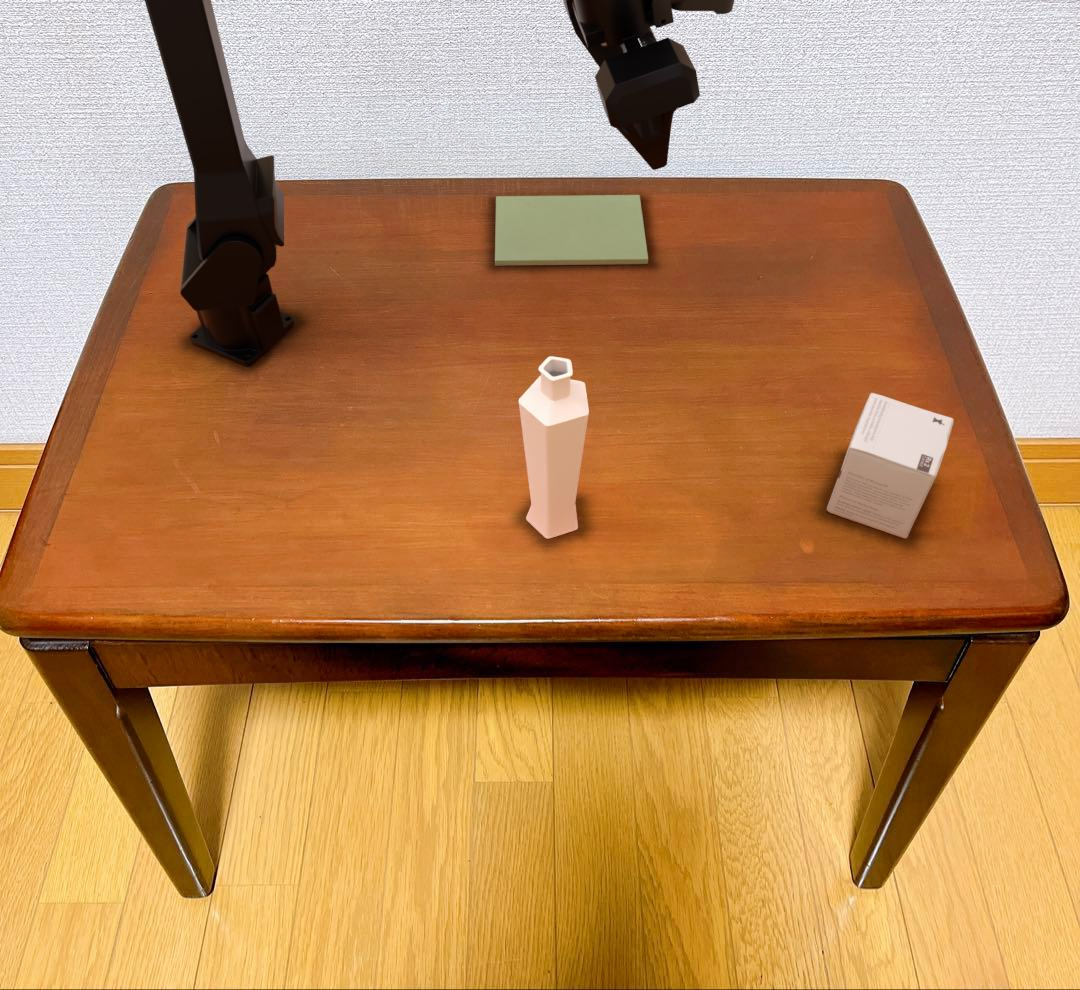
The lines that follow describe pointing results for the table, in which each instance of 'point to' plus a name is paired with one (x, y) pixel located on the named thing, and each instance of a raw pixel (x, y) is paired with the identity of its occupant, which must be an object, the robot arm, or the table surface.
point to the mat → (569, 230)
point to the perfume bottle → (554, 445)
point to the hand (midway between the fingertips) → (645, 133)
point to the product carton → (890, 465)
